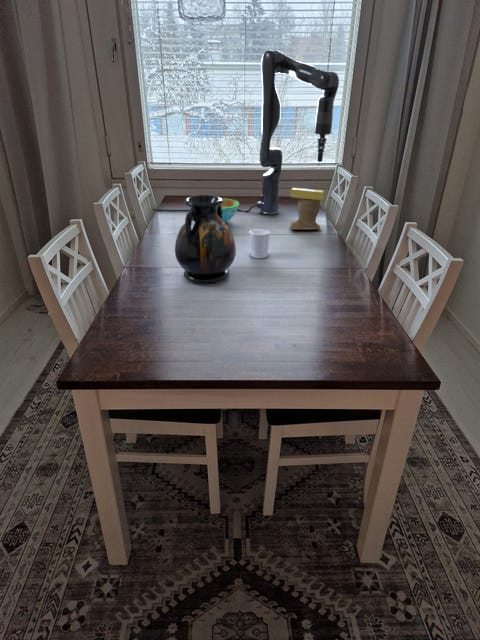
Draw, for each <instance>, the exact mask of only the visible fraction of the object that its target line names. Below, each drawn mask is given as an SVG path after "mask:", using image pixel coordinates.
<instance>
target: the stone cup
mask: <svg viewBox="0 0 480 640" xmlns="http://www.w3.org/2000/svg"><path fill="white" fill-rule="evenodd" d="M320 208H321V200H314V199H304V198H298V202H297V211H298V212H297V213H298V219H297V220H296V221H291V222H290V224H289V225H290V226H289V227H290V230H291V231H292V230H293V231H313V230H320V229H321V226H320V224H318V223H317V221H316V220H317V217H318V214H319V211H320Z"/></svg>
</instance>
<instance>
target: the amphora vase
mask: <svg viewBox="0 0 480 640" xmlns="http://www.w3.org/2000/svg"><path fill="white" fill-rule="evenodd" d="M221 198H222V197H220V196H217V195H210V194H207V195H206V194H202V195H201V194H200V195H192V196H189V197H187V198H185V199H184V201H183V203H184V204H185V205H186V206H187V207H189V209H191V211H187V213H186V214H185V218H184V219H185V221H184V223H183V225H182V226H181V227H180V229H179V231H178V233H177V235H176V238H175V242H174V243H175V246H174V255H175V259H176V261H177V263H178V265H180V267H181V268H182V269H183V270H184V271H183V277H184V278H185V280H186V281H188V282H190V283H193V284H195V285H205V286H206V285H207V286H208V285H215V284H219V283H221V282H223V281H225V280H227V279H228V278H229V275H230V270H229V268H230V267H231V266H232V264H233V263H234V261H235V258H236V256H237V246H236V240H235V237H234V234H233V232H232V230H231V228H230V227H229V226H228V224H226V222H225V223H224V222H223V221H222V209H221V206H220V205H221V204H222V203H223V200H222V199H221Z"/></svg>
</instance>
